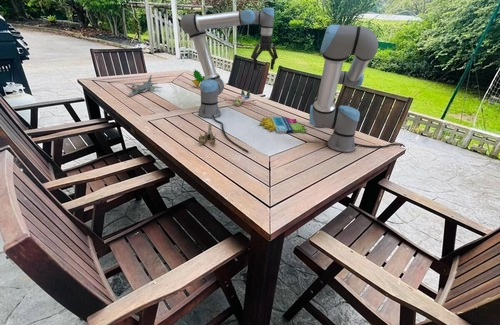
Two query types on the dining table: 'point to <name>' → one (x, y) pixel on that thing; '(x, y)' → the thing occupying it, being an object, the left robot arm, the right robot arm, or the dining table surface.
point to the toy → (241, 99)
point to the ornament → (198, 78)
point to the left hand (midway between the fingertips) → (263, 69)
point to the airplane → (143, 87)
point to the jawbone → (207, 136)
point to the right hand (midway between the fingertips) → (320, 122)
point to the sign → (282, 125)
